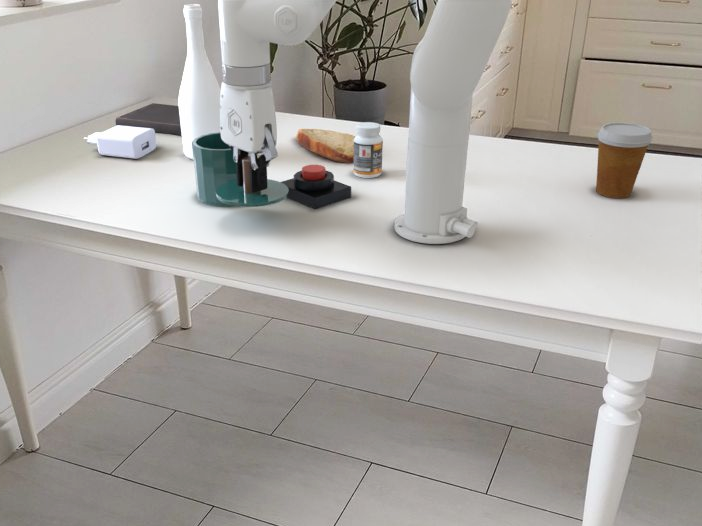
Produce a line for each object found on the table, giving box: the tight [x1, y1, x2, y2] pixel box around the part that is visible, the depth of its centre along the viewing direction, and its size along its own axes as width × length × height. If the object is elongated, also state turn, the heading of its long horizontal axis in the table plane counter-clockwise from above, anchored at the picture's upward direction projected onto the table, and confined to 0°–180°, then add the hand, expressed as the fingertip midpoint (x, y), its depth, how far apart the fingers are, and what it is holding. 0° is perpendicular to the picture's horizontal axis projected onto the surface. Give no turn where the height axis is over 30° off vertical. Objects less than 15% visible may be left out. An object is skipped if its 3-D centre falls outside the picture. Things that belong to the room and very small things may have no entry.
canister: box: [192, 132, 237, 208], centre depth 140 cm, size 11×11×10 cm
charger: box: [83, 125, 157, 160], centre depth 166 cm, size 5×9×15 cm
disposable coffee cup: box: [595, 122, 654, 199], centre depth 139 cm, size 10×10×12 cm
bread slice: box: [295, 128, 357, 164], centre depth 166 cm, size 18×18×4 cm
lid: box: [216, 156, 289, 208], centre depth 127 cm, size 12×12×7 cm
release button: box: [301, 164, 326, 180], centre depth 140 cm, size 4×4×2 cm
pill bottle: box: [353, 121, 384, 179], centre depth 150 cm, size 6×6×10 cm
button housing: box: [280, 169, 352, 210], centre depth 141 cm, size 11×9×4 cm
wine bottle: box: [177, 3, 221, 161], centre depth 156 cm, size 10×10×30 cm
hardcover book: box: [115, 102, 182, 136], centre depth 184 cm, size 16×23×2 cm
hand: (252, 186), depth 128 cm, fingers closed on lid, 3 cm apart
